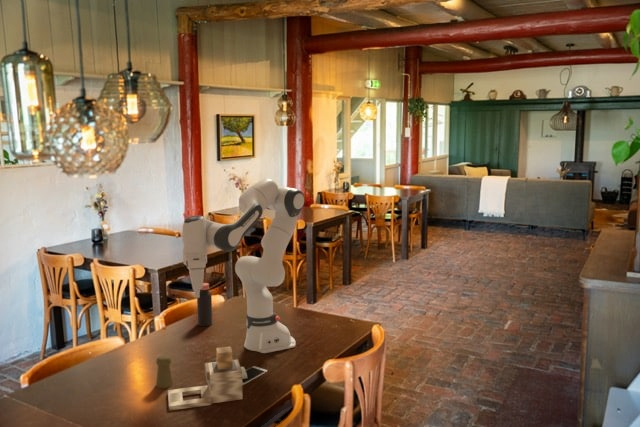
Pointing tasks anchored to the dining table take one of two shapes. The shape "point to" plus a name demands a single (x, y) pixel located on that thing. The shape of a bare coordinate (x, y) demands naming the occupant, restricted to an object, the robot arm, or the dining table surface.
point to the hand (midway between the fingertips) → (196, 293)
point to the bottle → (204, 306)
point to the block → (224, 358)
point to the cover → (207, 373)
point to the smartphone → (253, 374)
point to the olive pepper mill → (164, 372)
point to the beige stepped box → (211, 388)
